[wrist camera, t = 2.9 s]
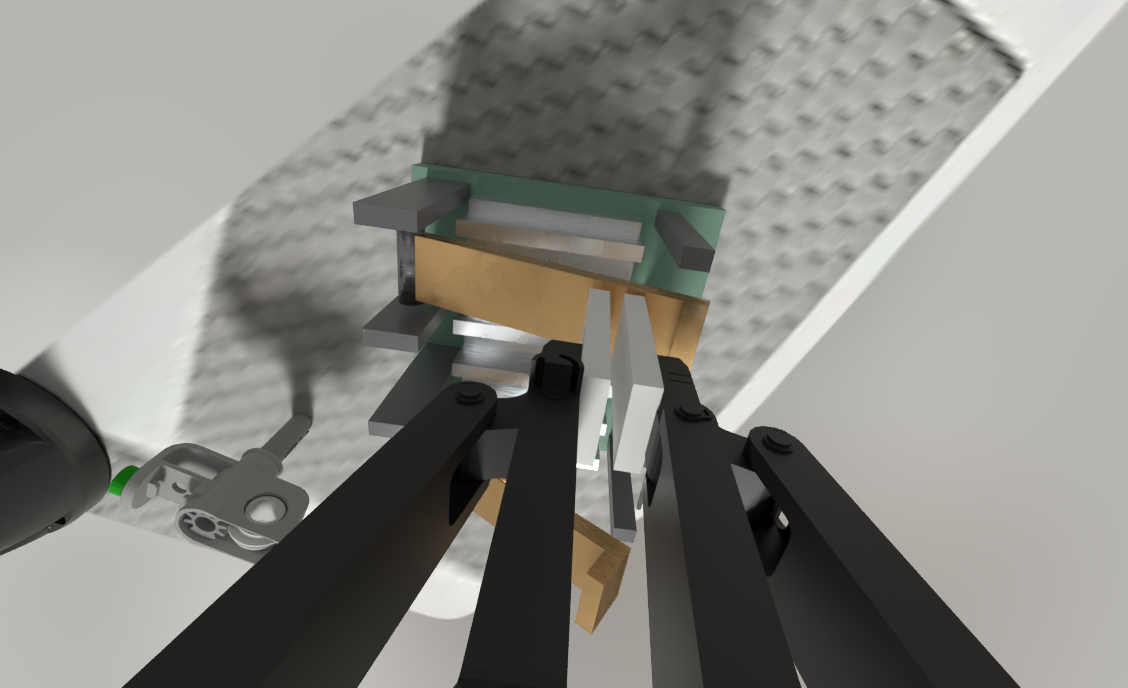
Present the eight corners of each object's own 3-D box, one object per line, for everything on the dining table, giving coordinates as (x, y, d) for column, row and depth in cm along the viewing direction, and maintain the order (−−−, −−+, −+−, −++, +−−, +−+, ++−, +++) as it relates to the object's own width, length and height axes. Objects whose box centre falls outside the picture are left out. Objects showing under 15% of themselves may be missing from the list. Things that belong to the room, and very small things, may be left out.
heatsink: (465, 419, 32) (449, 457, 28) (475, 193, 25) (456, 206, 21) (595, 437, 32) (595, 477, 28) (639, 217, 25) (647, 233, 22)
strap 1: (409, 294, 22) (374, 309, 20) (408, 219, 21) (370, 228, 19) (688, 374, 19) (680, 403, 17) (712, 291, 17) (706, 311, 15)
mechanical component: (238, 377, 33) (106, 473, 24) (373, 437, 35) (297, 548, 26) (231, 407, 34) (102, 509, 25) (361, 463, 36) (285, 578, 27)
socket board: (422, 411, 33) (415, 424, 32) (420, 163, 26) (411, 165, 25) (653, 444, 34) (656, 457, 32) (718, 206, 26) (725, 210, 25)
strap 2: (416, 455, 27) (380, 476, 25) (415, 403, 25) (377, 422, 23) (618, 596, 20) (590, 639, 19) (634, 540, 19) (605, 580, 17)
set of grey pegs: (426, 420, 32) (374, 514, 24) (426, 176, 25) (352, 201, 17) (623, 447, 32) (634, 550, 24) (679, 212, 25) (718, 253, 17)
